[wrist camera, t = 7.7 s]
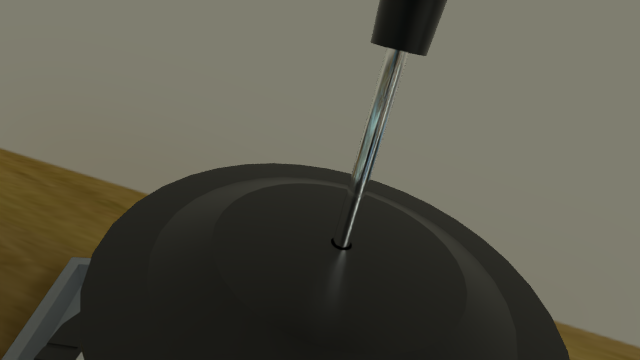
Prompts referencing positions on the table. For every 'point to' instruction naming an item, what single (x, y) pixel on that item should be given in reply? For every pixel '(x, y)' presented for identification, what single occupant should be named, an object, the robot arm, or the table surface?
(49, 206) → the table surface
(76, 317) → the robot arm
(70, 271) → the tray
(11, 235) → the table surface
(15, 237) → the table surface
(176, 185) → the french press
